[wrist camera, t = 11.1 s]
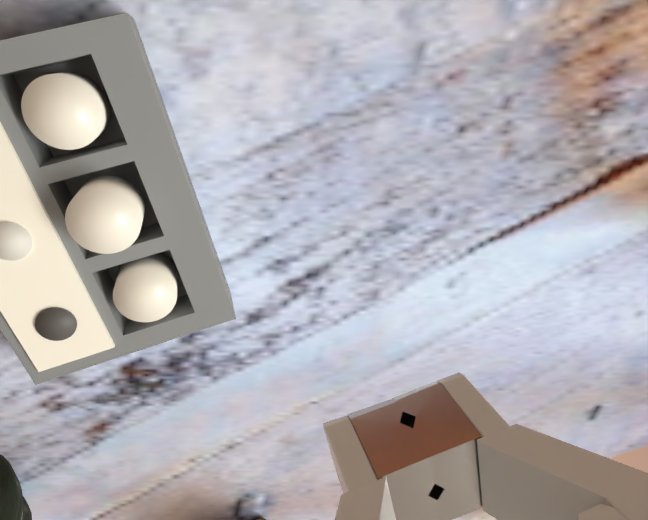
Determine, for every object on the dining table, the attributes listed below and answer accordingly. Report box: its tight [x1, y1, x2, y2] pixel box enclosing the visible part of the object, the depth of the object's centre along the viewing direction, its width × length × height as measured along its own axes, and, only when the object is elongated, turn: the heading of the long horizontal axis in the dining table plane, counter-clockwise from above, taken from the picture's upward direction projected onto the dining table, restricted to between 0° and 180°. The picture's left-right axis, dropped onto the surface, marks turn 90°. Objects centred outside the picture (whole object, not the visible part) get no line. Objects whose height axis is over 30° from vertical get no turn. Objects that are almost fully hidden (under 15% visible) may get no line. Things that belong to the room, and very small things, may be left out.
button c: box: [113, 253, 178, 322], centre depth 32 cm, size 4×4×3 cm
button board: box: [0, 13, 236, 385], centre depth 30 cm, size 14×20×4 cm
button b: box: [65, 175, 145, 254], centre depth 28 cm, size 4×4×3 cm
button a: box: [21, 72, 110, 150], centre depth 27 cm, size 4×4×3 cm
